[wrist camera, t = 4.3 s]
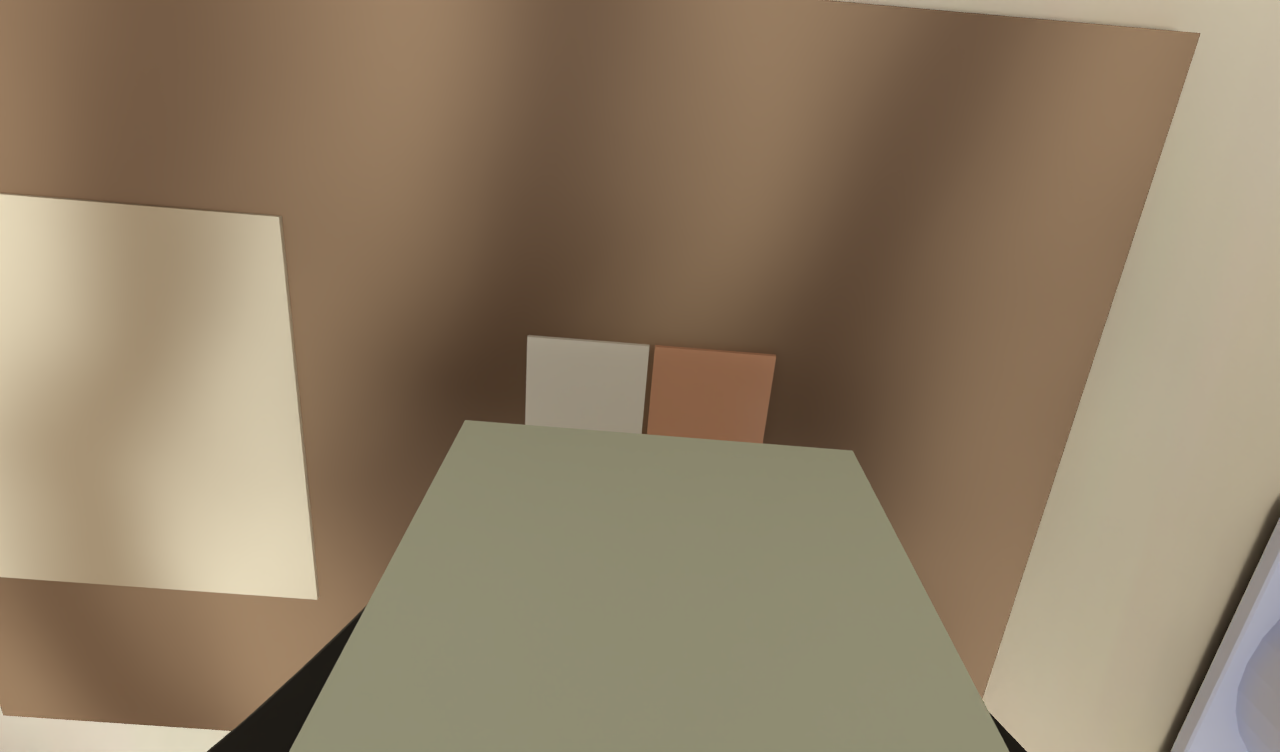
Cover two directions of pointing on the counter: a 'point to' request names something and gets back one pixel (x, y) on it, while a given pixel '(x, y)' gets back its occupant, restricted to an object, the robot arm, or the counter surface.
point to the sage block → (647, 609)
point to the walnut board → (515, 286)
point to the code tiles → (616, 382)
